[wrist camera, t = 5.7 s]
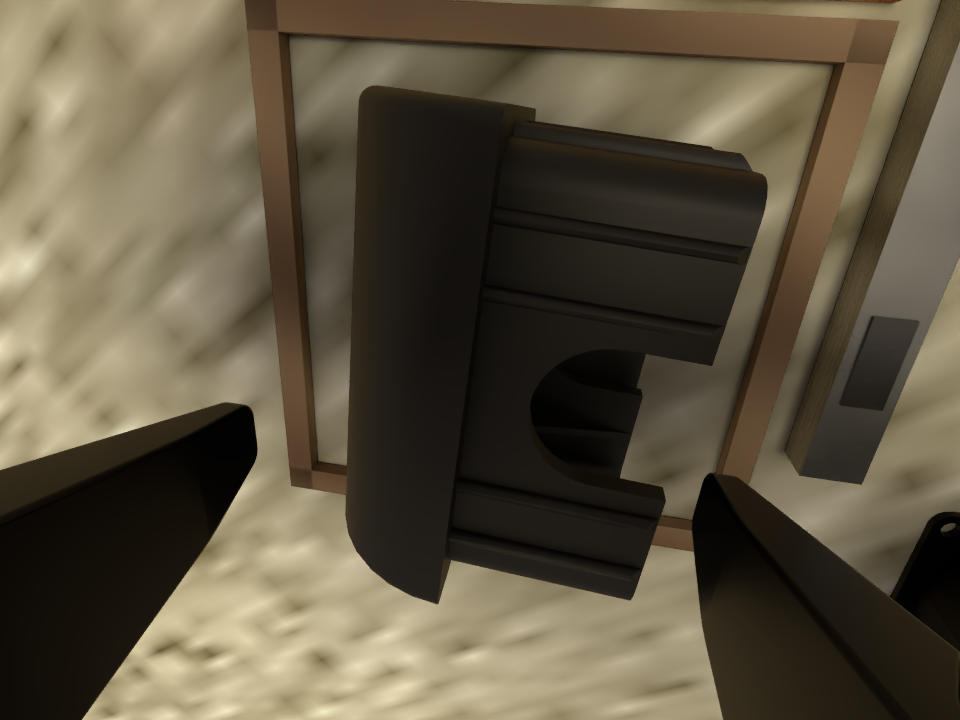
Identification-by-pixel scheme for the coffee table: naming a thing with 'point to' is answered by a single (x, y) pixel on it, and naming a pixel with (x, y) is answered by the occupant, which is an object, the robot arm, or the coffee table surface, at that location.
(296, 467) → the walnut seat frame
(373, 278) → the end cap
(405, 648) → the coffee table surface
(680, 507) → the coffee table surface
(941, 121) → the metal rail
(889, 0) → the orange marked frame
